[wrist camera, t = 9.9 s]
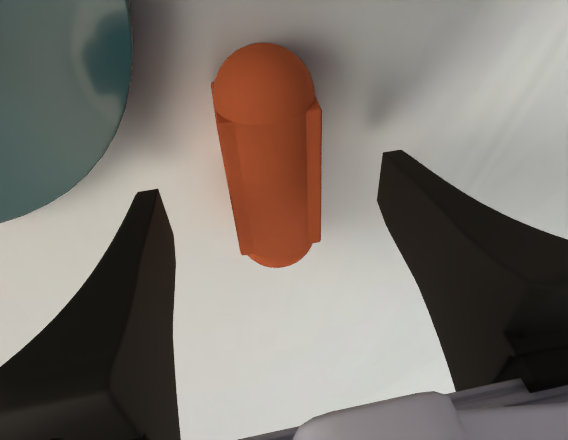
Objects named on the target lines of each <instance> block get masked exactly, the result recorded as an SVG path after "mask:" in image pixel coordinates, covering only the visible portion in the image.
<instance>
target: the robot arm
mask: <svg viewBox="0 0 568 440" xmlns="http://www.w3.org/2000/svg"><path fill="white" fill-rule="evenodd" d="M377 201H378V204H379V207H380V210H381V213H382V216H383V218H384V221H385V223H386V226H387V228H388V230H389V232H390V234H391V236H392V237H393V239H394V241H395V243H396V245H397V247H398V249H399V251H400V252H401V254H402V256H403V258H404V260H405V262H406V264H407V265H408V267H409V269H410V271H411V273H412V275H413V276H414V278H415V281H416V283H417V285H418V287H419V289H420V291H421V294H422V296H423V299H424V301H425V304H426V306H427V309H428V311H429V314H430V316H431V319H432V322H433V324H434V327H435V330H436V333H437V335H438V338H439V341H440V344H441V347H442V350H443V352H444V355H445V358H446V361H447V364H448V367H449V370H450V374H451V377H452V380H453V383H454V387H455V390H456V392H454V393H449V394H441V393H438V392H435V391H432V392H422V393H415V394H411V395H406V396H401V397H397V398H392V399H388V400H383V401H378V402H374V403H369V404H365V405H360V406H355V407H351V408H346V409H342V410H337V411H332V412H329V413H326V414H323V415H320V416H317V417H314V418H312V419H310V420H309V421H307V422H305V423H304V424H302V425H301V426H298V427H294V428H289V429H285V430H280V431H275V432H271V433H266V434H262V435H257V436H253V437H248V438H243V439H239V440H568V240H567V239H564V238H561V237H558V236H555V235H552V234H549V233H547V232H544V231H541V230H539V229H536V228H534V227H531V226H529V225H526V224H524V223H521V222H519V221H517V220H514V219H512V218H510V217H508V216H506V215H504V214H502V213H500V212H498V211H496V210H494V209H492V208H490V207H488V206H486V205H484V204H482V203H480V202H479V201H477V200H475V199H473V198H472V197H470V196H468V195H467V194H465V193H463V192H462V191H460V190H459V189H457V188H456V187H454V186H452V185H451V184H449V183H448V182H446V181H445V180H443V179H442V178H441V177H439V176H438V175H436V174H435V173H433V172H432V171H431V170H429V169H428V168H426V167H425V166H424V165H422V164H421V163H419V162H418V161H417V160H415V159H414V158H412V157H411V156H410V155H408V154H407V153H405V152H404V151H402V150H396V151H390V152H384V153H383V157H382V164H381V172H380V180H379V188H378V196H377ZM175 269H176V259H175V246H174V235H173V232H172V229H171V226H170V223H169V220H168V217H167V214H166V211H165V208H164V205H163V202H162V199H161V196H160V193H159V190H158V189H154V190H148V191H141V192H138V193H137V194H136V195H135V197H134V200H133V202H132V204H131V206H130V208H129V210H128V212H127V214H126V216H125V218H124V220H123V222H122V224H121V226H120V228H119V230H118V232H117V233H116V235H115V237H114V239H113V241H112V242H111V244H110V246H109V247H108V249H107V251H106V252H105V254H104V255H103V257H102V259H101V260H100V262H99V263H98V265H97V266H96V268H95V269H94V271H93V272H92V273H91V275H90V276H89V278H88V279H87V280H86V282H85V283H84V284H83V286H82V287H81V288H80V289H79V291H78V292H77V293H76V294H75V296H74V297H73V298H72V299H71V300H70V301H69V303H68V304H67V305H66V306H65V307H64V308H63V309H62V310H61V312H60V313H59V314H58V315H57V316H56V317H55V318H54V319H53V320H52V321H51V322H50V323H49V324H48V325H47V326H46V327H45V328H44V329H43V330H42V331H41V332H40V333H39V334H38V335H37V336H36V337H35V338H34V339H32V340H31V341H30V342H29V343H28V344H27V345H26V346H25V347H24V348H23V349H21V350H20V351H19V352H18V353H17V354H15V355H14V356H13V357H12V358H11V359H9V360H8V361H7V362H6V363H5V364H3V365H2V366H1V367H0V440H181V438H180V428H179V417H178V406H177V394H176V380H175V366H174V350H173V310H174V291H175Z"/></svg>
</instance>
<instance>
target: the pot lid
mask: <svg viewBox="0 0 568 440" xmlns="http://www.w3.org/2000/svg"><path fill="white" fill-rule="evenodd" d="M132 60H133V32H132V21H131V10H130V2H129V0H0V223H2V222H5V221H8V220H11V219H14V218H17V217H20V216H24V215H26V214H28V213H30V212H32V211H34V210H37V209H39V208H41V207H43V206H45V205H47V204H49V203H50V202H52V201H54V200H55V199H57V198H58V197H60V196H61V195H63V194H64V193H66V192H68V191H69V190H70V189H71V188H72V187H74V186H75V185H76V184H77V183H78V182H79V181H80V180H82V179H83V178H84V177H85V176H86V175H87V174H88V173H89V172H90V171H91V169H92V168H93V167H94V166H95V165H96V163H97V162H98V161H99V160H100V159H101V157H102V156H103V155H104V153H105V151H106V150H107V148H108V146H109V144H110V143H111V141H112V139H113V138H114V136H115V134H116V132H117V129H118V126H119V124H120V121H121V118H122V116H123V113H124V110H125V107H126V102H127V97H128V92H129V87H130V82H131V76H132Z"/></svg>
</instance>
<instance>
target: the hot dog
mask: <svg viewBox="0 0 568 440" xmlns="http://www.w3.org/2000/svg"><path fill="white" fill-rule="evenodd" d="M211 89H212V96H213V103H214V110H215V117H216V124H217V130H218V135H219V140H220V146H221V151H222V156H223V162H224V167H225V172H226V178H227V183H228V188H229V194H230V199H231V204H232V210H233V215H234V220H235V226H236V231H237V236H238V242H239V247H240V252H241V254H242V255H248V256H249V257H250V258H251V259H253V260H254V261H256V262H257V263H259V264H261V265H263V266H267V267H273V268H280V267H286V266H290V265H292V264H294V263H296V262H298V261H299V260H301V259H302V258H303V257H304V256H305V255H306V254H307V252H308V251H309V249H310V248H311V246H312V243H316V242H320V240H321V145H322V110H321V107H320V105H319V103H318V101H317V99H316V97H315V91H314V85H313V81H312V78H311V75H310V72H309V71H308V69H307V68H306V66H305V64H304V63H303V62H302V60H301V59H300V58H299V57H298V56H297V55H295V54H294V53H293V52H291V51H290V50H288V49H286V48H284V47H282V46H279V45H276V44H272V43H254V44H250V45H247V46H245V47H243V48H240V49H238V50H237V51H235V52H234V53H233V54H232V55H230V56H229V57H228V58H227V59H226V60H225V62H224V63H223V64H222V66H221V67H220V69H219V71H218V74H217V76H216V79H215V81H214V82H212V83H211Z"/></svg>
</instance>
